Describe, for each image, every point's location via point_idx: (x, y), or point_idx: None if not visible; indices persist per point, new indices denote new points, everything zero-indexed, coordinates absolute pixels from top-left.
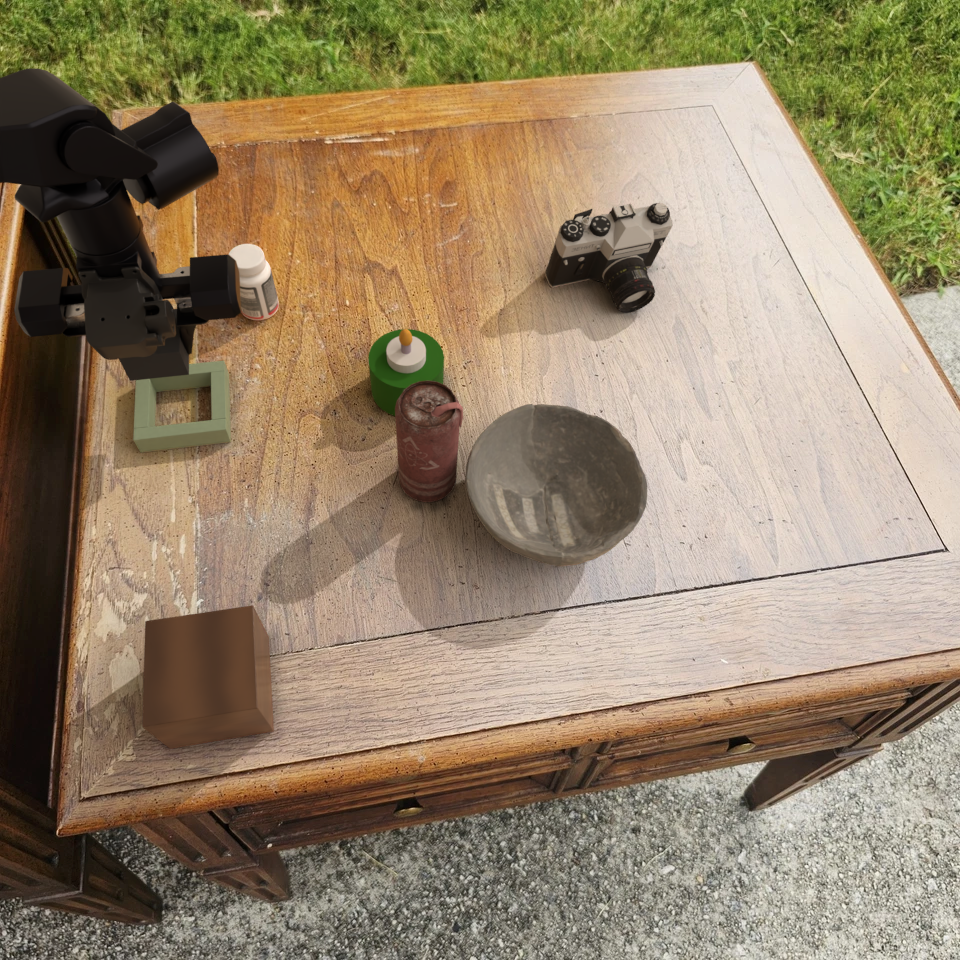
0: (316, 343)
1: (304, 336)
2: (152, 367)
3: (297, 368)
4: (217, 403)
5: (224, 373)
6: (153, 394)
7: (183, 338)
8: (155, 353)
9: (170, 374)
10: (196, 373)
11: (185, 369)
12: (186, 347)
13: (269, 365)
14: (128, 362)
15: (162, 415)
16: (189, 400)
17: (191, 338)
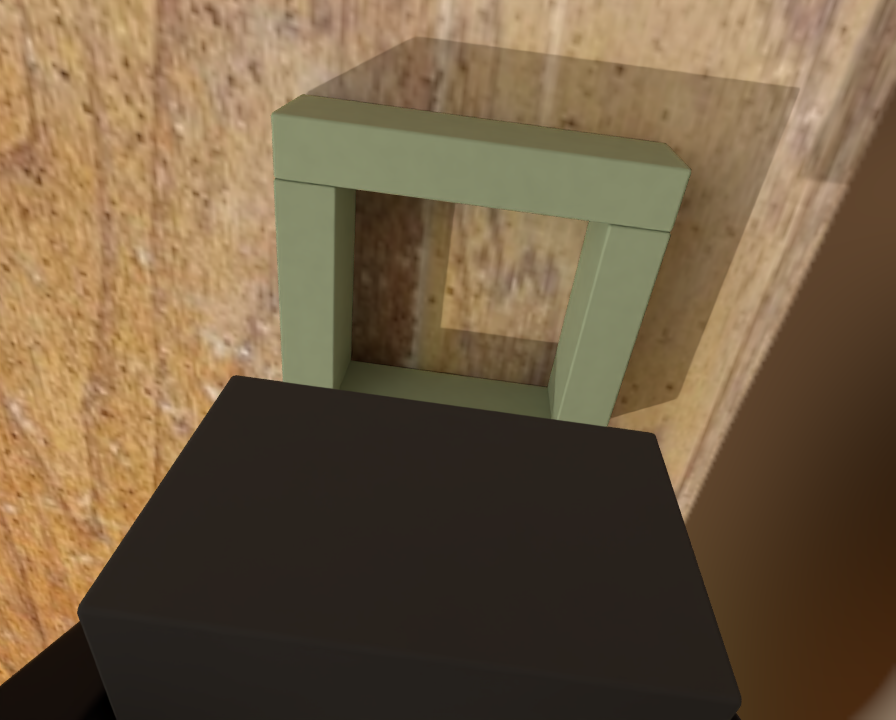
0: (38, 423)
1: (80, 453)
2: (449, 496)
3: (83, 354)
4: (309, 264)
5: None
6: (556, 377)
7: (83, 702)
8: (338, 652)
9: (353, 406)
10: None
11: (216, 415)
12: None
13: (177, 387)
14: (642, 608)
15: (546, 293)
16: (444, 328)
17: (19, 681)
